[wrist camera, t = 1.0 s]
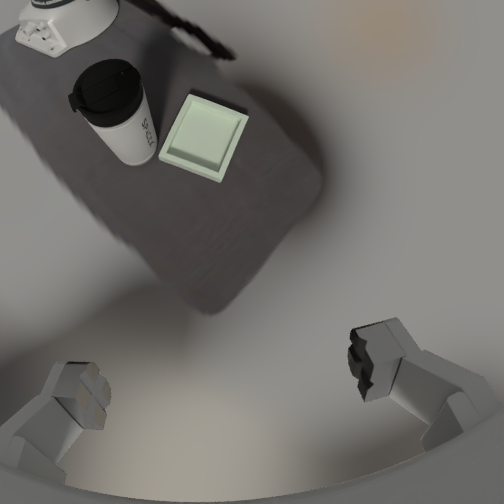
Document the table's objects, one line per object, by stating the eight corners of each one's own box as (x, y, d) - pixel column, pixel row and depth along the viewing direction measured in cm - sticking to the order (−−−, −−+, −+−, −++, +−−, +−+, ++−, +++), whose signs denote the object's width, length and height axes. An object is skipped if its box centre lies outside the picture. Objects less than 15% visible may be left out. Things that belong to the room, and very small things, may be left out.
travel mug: (108, 140, 37) (60, 79, 18) (147, 119, 39) (126, 43, 19) (124, 175, 38) (79, 131, 19) (165, 153, 40) (151, 91, 20)
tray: (159, 159, 39) (158, 156, 37) (188, 99, 40) (189, 93, 37) (219, 182, 42) (221, 180, 39) (245, 121, 42) (248, 116, 40)
